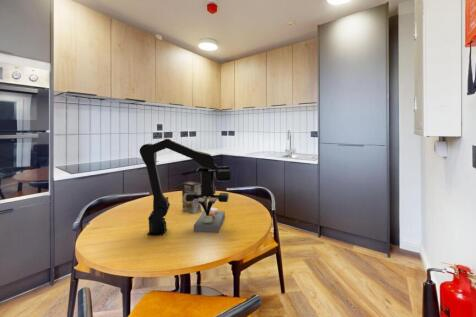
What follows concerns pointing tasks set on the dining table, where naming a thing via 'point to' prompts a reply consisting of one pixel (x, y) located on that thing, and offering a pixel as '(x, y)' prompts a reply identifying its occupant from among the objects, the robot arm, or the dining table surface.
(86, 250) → the dining table surface
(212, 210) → the button offwhite
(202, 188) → the robot arm
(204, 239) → the dining table surface
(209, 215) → the button terracotta
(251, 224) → the dining table surface
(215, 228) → the button panel
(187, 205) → the coffee box
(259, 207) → the dining table surface
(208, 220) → the button sage
